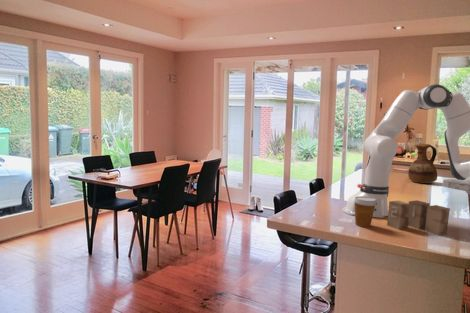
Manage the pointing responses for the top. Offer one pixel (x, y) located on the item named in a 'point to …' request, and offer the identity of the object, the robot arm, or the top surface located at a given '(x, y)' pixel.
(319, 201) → the top surface
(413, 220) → the walnut block numbered 1
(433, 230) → the plain walnut block
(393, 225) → the walnut block numbered 2
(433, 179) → the ceramic pitcher
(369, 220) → the disposable coffee cup
